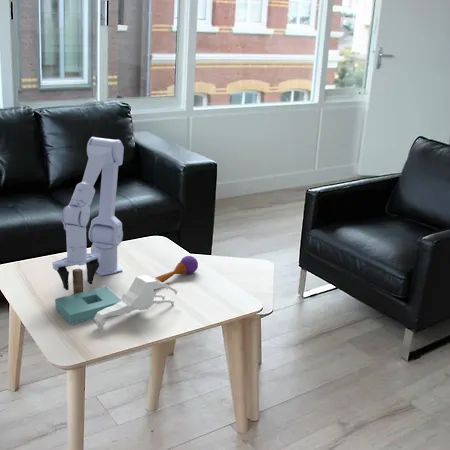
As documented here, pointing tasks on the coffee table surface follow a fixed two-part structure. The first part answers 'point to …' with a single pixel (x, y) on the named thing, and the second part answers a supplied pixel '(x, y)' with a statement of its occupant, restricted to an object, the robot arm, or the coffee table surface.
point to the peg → (77, 281)
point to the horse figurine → (135, 299)
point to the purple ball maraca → (181, 268)
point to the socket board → (85, 304)
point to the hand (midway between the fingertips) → (78, 286)
